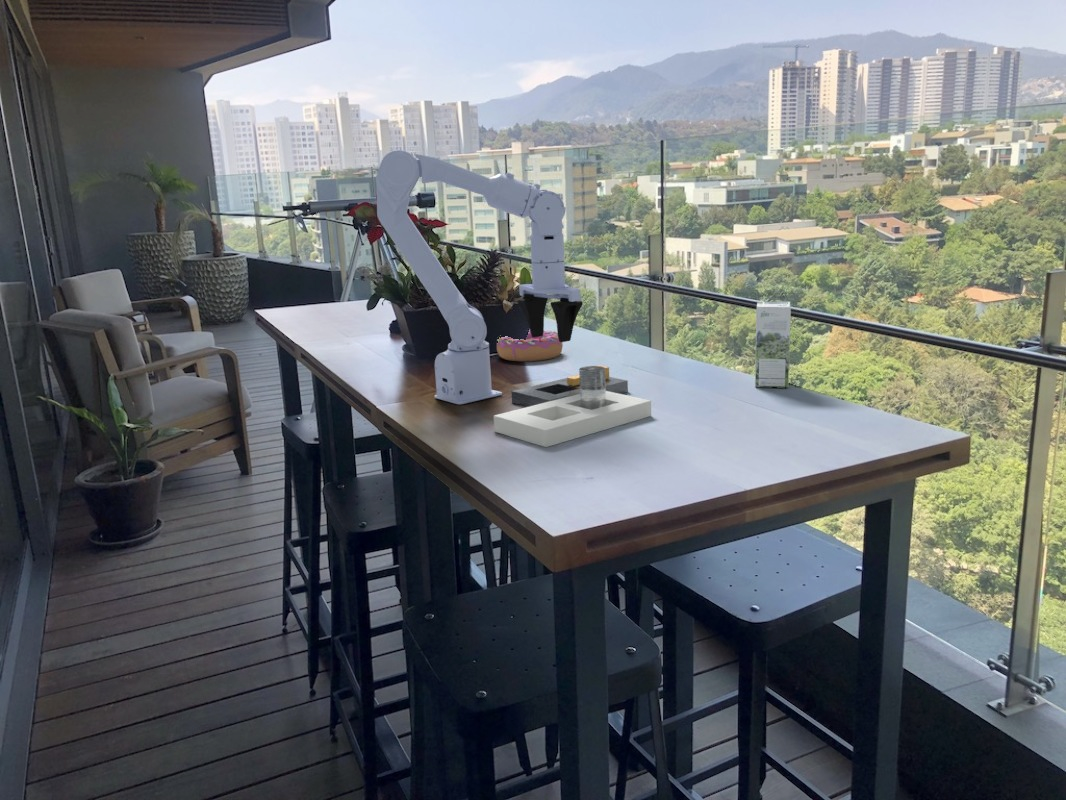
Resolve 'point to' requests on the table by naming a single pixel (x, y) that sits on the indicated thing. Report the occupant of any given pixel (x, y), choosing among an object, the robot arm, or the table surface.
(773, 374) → the syrup box
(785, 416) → the table surface
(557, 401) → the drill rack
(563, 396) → the dark grey socket tray
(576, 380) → the bar
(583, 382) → the brushed steel cylinder
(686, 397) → the table surface
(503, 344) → the donut
